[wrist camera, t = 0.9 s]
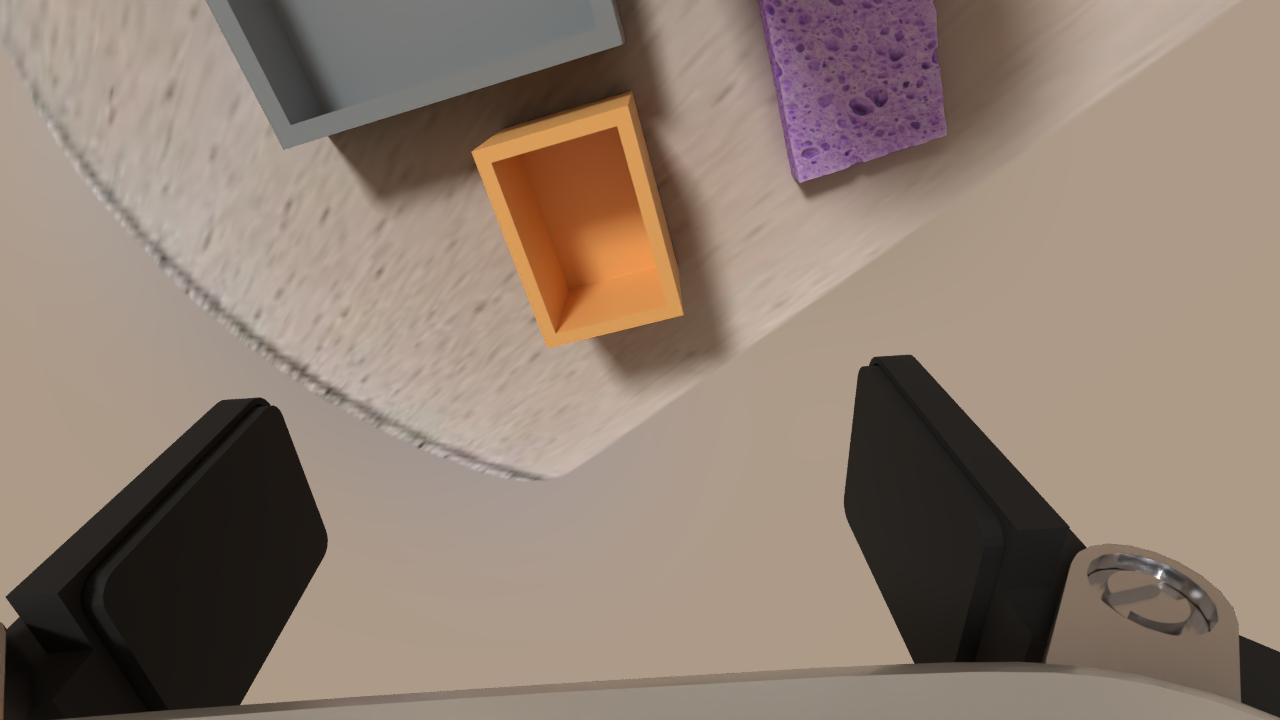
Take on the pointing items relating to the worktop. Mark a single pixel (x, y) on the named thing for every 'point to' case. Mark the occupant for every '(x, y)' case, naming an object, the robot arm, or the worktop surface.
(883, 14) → the sponges
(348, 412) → the worktop surface
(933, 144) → the worktop surface
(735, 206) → the worktop surface
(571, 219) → the small crate
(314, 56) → the grey square tray
